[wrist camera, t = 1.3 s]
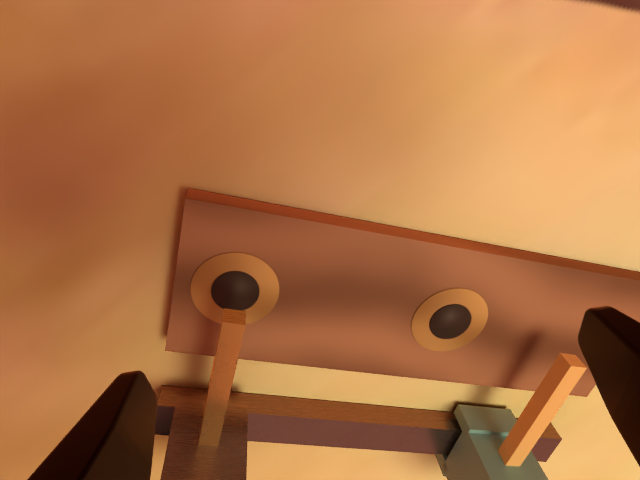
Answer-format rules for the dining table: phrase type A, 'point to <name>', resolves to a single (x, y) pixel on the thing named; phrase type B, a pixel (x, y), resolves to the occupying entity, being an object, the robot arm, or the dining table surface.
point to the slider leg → (509, 431)
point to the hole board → (381, 296)
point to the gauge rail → (286, 421)
